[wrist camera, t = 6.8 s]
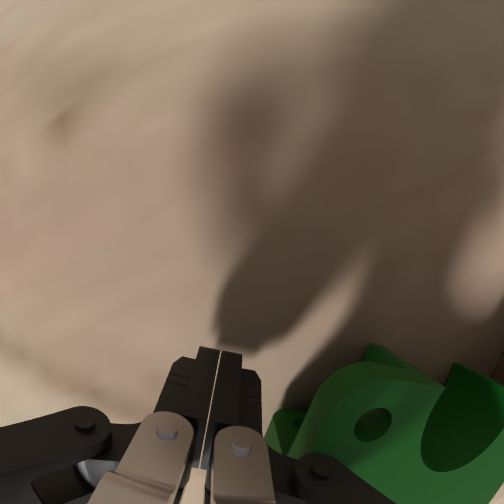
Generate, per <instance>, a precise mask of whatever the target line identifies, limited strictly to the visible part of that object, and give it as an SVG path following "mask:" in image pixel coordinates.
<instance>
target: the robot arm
mask: <svg viewBox="0 0 504 504" xmlns="http://www.w3.org/2000/svg"><path fill="white" fill-rule="evenodd" d="M219 354H220V350H217V349H212V348H207V347H202V346H200V347H199V350H198V354H197V357H196V359H192V358H187V357H183V356H182V357H181V358H179V359H178V360H177V361H175V362H174V363H173V365H172V367H171V369H170V372H169V375H168V377H167V379H166V383H165V384H164V387H163V389H162V392H161V394H160V397H159V400H158V402H157V405H156V407H155V410H154V412H153V413H152V414H149V415H148V416H146V417H145V418H144V419H143V421H142V422H140V423H136V424H114V423H110V421H109V419H108V417H107V416H106V415H105V414H104V413H103V412H101V411H99V410H98V409H95V408H92V407H87V406H78V407H73V408H70V409H67V410H63V411H60V412H56V413H53V414H50V415H46V416H43V417H39V418H35V419H32V420H28V421H24V422H20V423H16V424H12V425H8V426H4V427H0V504H181V501H182V498H183V495H184V491H185V488H186V484H187V483H188V481H189V478H190V473H191V468H192V467H194V468H198V467H199V461H200V456H201V450H202V445H203V440H204V434H205V429H206V424H207V418H208V413H209V407H210V402H211V397H212V391H213V386H214V381H215V375H216V370H217V365H218V359H219ZM200 469H205V470H207V473H206V480H205V485H204V490H203V504H396V503H395V502H393V501H392V500H391V499H389V498H388V497H386V496H385V495H383V494H382V493H381V492H379V491H378V490H377V489H375V488H374V487H372V486H371V485H370V484H368V483H367V482H366V481H364V480H363V479H362V478H360V477H359V476H358V475H356V474H355V473H354V472H352V471H351V470H350V469H349V468H347V467H346V466H345V465H343V464H342V463H341V462H340V461H338V460H337V459H336V458H334V457H332V456H330V455H327V454H324V453H309V454H306V455H304V456H302V457H300V458H299V459H295V458H292V457H289V456H286V455H283V454H280V453H278V452H276V451H275V450H273V449H272V448H271V447H270V446H269V445H268V444H267V443H266V441H265V439H264V438H263V435H262V401H261V380H260V378H259V377H258V375H257V373H256V372H255V371H253V370H248V369H242V354H237V353H232V352H227V351H222V353H221V358H220V363H219V368H218V373H217V378H216V383H215V389H214V394H213V399H212V405H211V410H210V416H209V422H208V427H207V433H206V439H205V444H204V450H203V456H202V462H201V467H200Z"/></svg>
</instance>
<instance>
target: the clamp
mask: <svg viewBox="0 0 504 504" xmlns="http://www.w3.org/2000/svg"><path fill="white" fill-rule="evenodd" d="M264 439H265V441H266V443H267V444H268V445H269V446H270V447H271V448H272V449H273V450H275V451H276V452H278V453H280V454H283V455H286V456H289V457H292V458H295V459H299V458H300V457H302V456H304V455H306V454H309V453H324V454H327V455H330V456H332V457H334V458H336V459H337V460H338V461H340V462H341V463H342V464H343V465H345V466H346V467H347V468H349V469H350V470H351V471H352V472H354V473H355V474H356V475H358V476H359V477H360V478H362V479H363V480H364V481H366V482H367V483H368V484H370V485H371V486H372V487H374V488H375V489H377V490H378V491H379V492H381V493H382V494H383V495H385V496H386V497H388V498H389V499H391V500H392V501H393V502H395V503H396V504H488V503H489V502H490V501H491V499H492V498H493V497H494V495H495V494H496V493H497V491H498V490H499V488H500V487H501V485H502V484H503V482H504V385H503V384H501V383H499V382H497V381H495V380H493V379H491V378H489V377H487V376H485V375H483V374H481V373H479V372H477V371H475V370H473V369H471V368H469V367H467V366H465V365H463V364H460V363H455V362H454V364H453V367H452V371H451V374H450V377H449V379H448V381H447V383H446V385H445V387H444V386H443V385H441V384H440V383H438V382H437V381H435V380H433V379H432V378H430V377H429V376H427V375H426V374H424V373H423V372H421V371H419V370H418V369H416V368H415V367H413V366H412V365H410V364H409V363H407V362H406V361H404V360H402V359H401V358H399V357H398V356H396V355H395V354H393V353H392V352H390V351H389V350H387V349H385V348H384V347H382V346H380V345H376V344H372V343H370V345H369V347H368V348H367V351H366V354H365V356H364V359H363V361H362V362H356V363H352V364H349V365H346V366H344V367H342V368H340V369H339V370H337V371H336V372H334V373H333V374H331V375H330V376H329V377H328V378H327V379H326V380H325V381H324V382H323V383H322V384H321V386H320V387H319V389H318V390H317V392H316V394H315V396H314V398H313V401H312V403H311V405H310V408H309V410H308V412H304V411H299V410H294V409H282V410H279V411H277V412H275V413H274V415H273V418H272V420H271V422H270V425H269V427H268V429H267V432H266V434H265V436H264Z"/></svg>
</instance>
